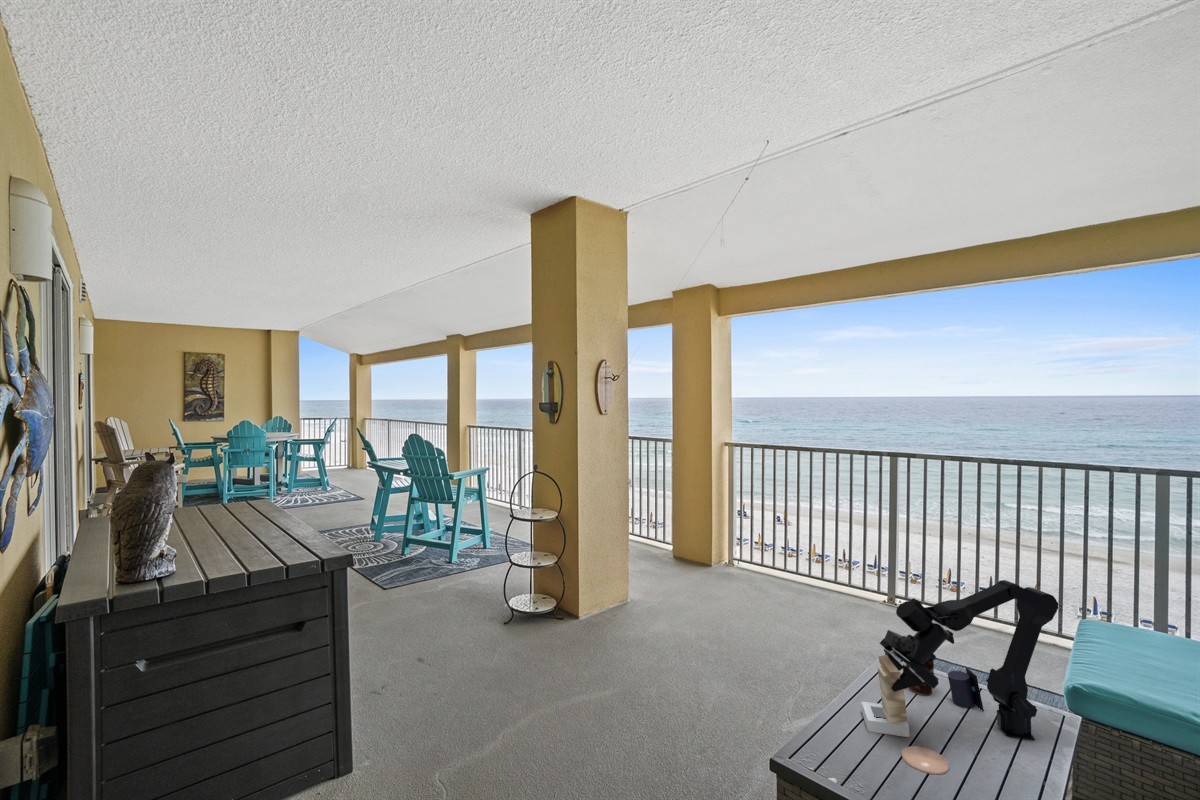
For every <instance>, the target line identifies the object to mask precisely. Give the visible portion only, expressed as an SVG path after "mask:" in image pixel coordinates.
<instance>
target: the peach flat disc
mask: <svg viewBox="0 0 1200 800" xmlns="http://www.w3.org/2000/svg"><path fill="white" fill-rule="evenodd" d="M901 758H902V760H903V761H904V762H905V763H906V764H907V765H909V766H910V767H912V768H913V769H915V770H917V771H919V772H922V773H925V774H930V775H943V774H946V773H947V772H949V770H950V763H949V761H948V760H947V759H946V758H945V757H944V756H943V755H941V754H940V753H939V752H937V751H935V750H932V749H930V748H928V747H923V746H917V745H914V746H906V747H905V748H903V749H902V751H901Z"/></svg>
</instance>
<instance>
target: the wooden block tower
mask: <svg viewBox="0 0 1200 800" xmlns="http://www.w3.org/2000/svg"><path fill="white" fill-rule="evenodd" d="M878 662H879V664H880V666H877V673H878V674H877V675H878V683H879V690H880V697H881V704H882V706H883V712H884V714H885V715H886V717H887V719H888V720H889V722H890V723H895V722H907V723H908V722H909V720H908V714H907V704H906V699H905V698H906V697H905V689H903V690H899V691H896V692H894V691H893V690H892V689H891V688H892V686H893V685H894V683H895V682H896V681H897V679H900V675H901V674H902V672H900V671H899V670H898V669H897V668H896V666H895V665H894V664H893V663H892V661H891V660H890V659H889V657H888V656H887V655H885V654H884V655H883V654H882V655H878Z"/></svg>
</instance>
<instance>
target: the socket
mask: <svg viewBox="0 0 1200 800" xmlns="http://www.w3.org/2000/svg"><path fill="white" fill-rule="evenodd" d="M860 703H861V705H860V706H861V708H860V709H861V714H862V713H863V715H862V717H863V716H864V717H863V720H864V723H865V725H866V729H867V731H868V732H869V733H870V732H871V733H876V734H883V735H892V736H899V737H906V738H910V725H909V723H908V722H895V723H890V722H889V720H888V719H884V718H887V717H886V715H885V714H884V712H883V706H882V703H876V702H868V701H860ZM874 716H875V717H874ZM876 717H882V718H876Z"/></svg>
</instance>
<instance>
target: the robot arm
mask: <svg viewBox="0 0 1200 800" xmlns="http://www.w3.org/2000/svg"><path fill="white" fill-rule="evenodd" d="M1013 600H1016V607H1017V608H1016V609H1017V612H1018V615H1019V617H1018V621H1017V624H1016V626H1015V628H1014V633H1013V635H1012V639H1011V641H1010V644H1009V647H1008V650H1007V652H1006V656H1005V658H1004V661H1003V665H1002V666H1001V667H999V668H998V669H994V668H991V669H990V670H989V675H988V678H987V679H986V680H985V682H987V685H986V689H987V690H988V692H989V694H990V696H992V698H993V700H994V701H995V702H997V703H998V709H997V710H996V725H997V726H998V727H999V729H1000V730H1001V731H1002V732H1003V734H1004V735H1005V736H1006V737H1009V738H1016V739H1023V740H1031V741H1035V739H1036V738H1035V736H1034V735H1033V734H1032V719H1031V718H1035V717H1036V715H1037V712H1038V708H1037V707H1035V705H1033V703H1031V702H1030V701H1029V700H1028V692H1029V690H1028V685H1027V684H1028V683H1027V681H1026V674H1027V672H1028V669H1029V665H1030V662H1031V659H1032V657H1033V654H1034V651H1035V648H1036V646H1037V642H1038V639H1039V636H1040V634H1041V631H1042V628H1043V626H1045V625H1046V624H1048V623H1050V622H1051V621H1053V619H1054V617H1055V616H1056V614H1057V612H1058V610H1059V607H1060V606H1059V602H1058V601H1057V598H1055V596H1054V595H1052V594H1050V593H1048V592H1044V591H1043V590H1039V589H1037V588H1034V587H1030V586H1026V587H1022V586H1020V585H1019V584H1017V583H1014V582H1012V581H1009V580H1006V579H1003V580H998V581H997V583H995V584H993V585H991V586H989V587H986V588H984V589H982V590H980V591H978V592H975V593H973V594H971V595H968V596H966V597H964V598H961V599H960V598H959V599H948V600H944V601H941V602H937V603H936V604H934V605H932V606H926V607H925V606H923V604H922V603H921V602H920V601H919V600H918V599H916V598H915V597H912V599H911V600H907V601H903V602H902V603H899V604H898V606H897V608H896V610H895V613H896V616H897V617H898V618H899V619H901V621H902V622H904V623H905V625H907V626H908V628H910V630H912V631H913V632H916V633H915V634H914V635H911V634H907V635H901V634H899V633H897V632H895V631H892V630H890V629H887V632H886V634H885V636H884V638H883V639H881V641H880V642H879V645H880V646H882V647H883V652H884V655H887V656H888V657H889V659H890V660H891V661H892V663H893V664H894V665H895V666H896V668H897V669H898V670H899V672H900V671H901V670H902V672H901V675H900V679H897V681H896V682H895V683H894V685H893V686H892V688H891V689H892V690H893V691H894V692H896V691H899V690H903V689H904V690H905V689H906V690H907V689H909V687H914V686H918V685H924V686H925V685H926V684H925V683H924V681H926V683H927V684H928V685H929V686H930V687H932V690H935V689H936V687H937V686H938V685H939V678H938V677H937V676H936V674H933V673H932V672H931V671H930V670H929V669H928V668H927V667H925V666H924V665H923V664H924V663H925V662H926V661H927V660H928V659H929V658H930V657H931V658H933V659H934V658H935V659H936V657H937V656H936V654H935V652H936V651H937V650H938V649H939V648H940V647H941V646H942V645H943V643H945V641H948V642H949V643H951V644H952V645H954V644H955V639H954V632H959V631H961V630H963V629H965V628H967V627H968V626H969V625H971V624H972V622H973V620H974V618H975V617H977V616H979V615H981V614H983V613H986V612H988V611H990V610H992V609H994V608H996V607H999V606H1001V605H1003V604H1005V603H1007V602H1010V601H1013ZM933 621H934V622H933ZM935 622H936V623H935ZM944 627H946V628H948V629H945V628H944ZM950 630H951V631H950ZM952 631H954V632H952ZM902 662H903V663H904V664H901V663H902ZM911 662H912V663H911ZM906 664H907V665H908V666H910V668H908V667H906Z"/></svg>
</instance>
